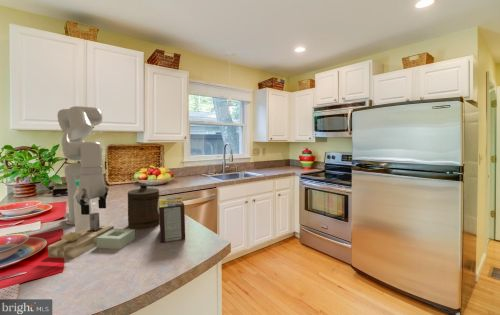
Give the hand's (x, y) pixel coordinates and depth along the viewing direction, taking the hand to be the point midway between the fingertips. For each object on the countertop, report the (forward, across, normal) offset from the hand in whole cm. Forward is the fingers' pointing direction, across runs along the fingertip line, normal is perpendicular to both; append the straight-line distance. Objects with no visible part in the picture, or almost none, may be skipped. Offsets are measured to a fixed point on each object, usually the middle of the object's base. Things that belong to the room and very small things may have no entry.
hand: (94, 211), depth 105 cm
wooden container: (+13, -21, +10) cm, 27 cm away
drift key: (+11, +11, -1) cm, 16 cm away
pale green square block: (+14, +2, +11) cm, 18 cm away
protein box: (+14, -11, +29) cm, 34 cm away
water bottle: (+13, -9, -13) cm, 20 cm away
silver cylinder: (+12, -1, -1) cm, 12 cm away
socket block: (+13, +5, -1) cm, 14 cm away
